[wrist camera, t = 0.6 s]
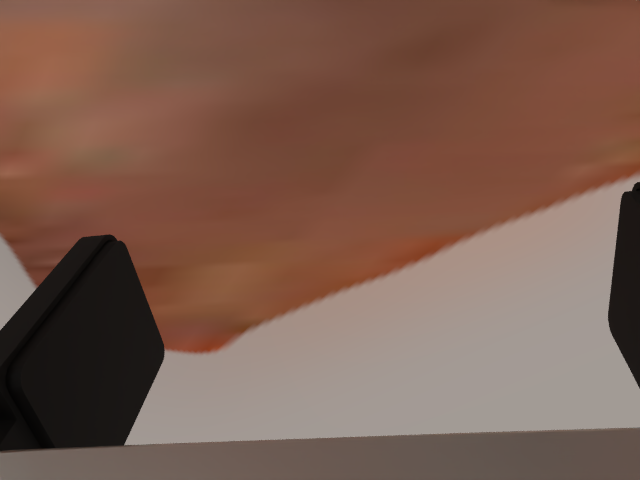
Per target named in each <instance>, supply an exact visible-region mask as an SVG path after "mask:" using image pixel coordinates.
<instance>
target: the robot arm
mask: <svg viewBox="0 0 640 480" xmlns="http://www.w3.org/2000/svg"><path fill="white" fill-rule="evenodd" d="M608 321H609V327H610V331H611V333H612V336H613V338H614V339H615V341H616V343H617V345H618V347H619V349H620V351H621V353H622V355H623V357H624V358H625V361H626V363H627V364H628V366H629V368H630V370H631V372H632V374H633V376H634V378H635V380H636V382H637V384H638V386H639V388H640V182H637V183H636V184H635V185H634V187H633V189H632V191H629V192H624V193H623V195H622V198H621V205H620V214H619V223H618V232H617V240H616V250H615V258H614V267H613V276H612V285H611V294H610V302H609V311H608ZM163 359H164V344H163V341H162V338H161V336H160V333H159V330H158V328H157V325H156V323H155V320H154V317H153V315H152V312H151V310H150V307H149V304H148V302H147V299H146V297H145V294H144V291H143V289H142V286H141V284H140V281H139V278H138V276H137V273H136V271H135V268H134V265H133V263H132V260H131V257H130V255H129V252H128V250H127V247H126V245H125V244H124V243H123V242H122V241H117V239H116V238H115V237H114V236H112V235H101V236H91V237H82V238H81V239H79V240H78V242H77V243H76V244H75V245H74V246H73V247H72V248H71V250H70V251H69V252H68V253H67V254H66V255H65V257H64V258H63V259H62V260H61V261H60V262H59V263H58V265H57V266H56V267H55V268H54V269H53V270H52V272H51V273H50V274H49V275H48V276H47V277H46V278H45V280H44V281H43V282H42V283H41V284H40V285H39V287H38V288H37V289H36V290H35V291H34V292H33V294H32V295H31V296H30V297H29V298H28V299H27V300H26V302H25V303H24V304H23V305H22V306H21V308H19V310H18V311H17V312H16V313H15V314H14V315H13V317H12V318H11V319H10V320H9V321H8V322H7V324H6V325H5V326H4V327H3V328H2V329H1V330H0V480H640V428H608V429H577V430H576V429H575V430H545V431H512V432H479V433H453V434H452V433H450V434H423V435H398V436H397V435H396V436H368V437H342V438H315V439H286V440H259V441H230V442H201V443H175V444H174V443H173V444H148V445H124V444H125V442H126V439H127V437H128V435H129V433H130V431H131V429H132V427H133V425H134V422H135V420H136V418H137V416H138V414H139V412H140V409H141V407H142V405H143V403H144V401H145V398H146V396H147V394H148V392H149V390H150V388H151V386H152V383H153V382H154V379H155V377H156V375H157V373H158V371H159V368H160V366H161V364H162V362H163Z"/></svg>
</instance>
